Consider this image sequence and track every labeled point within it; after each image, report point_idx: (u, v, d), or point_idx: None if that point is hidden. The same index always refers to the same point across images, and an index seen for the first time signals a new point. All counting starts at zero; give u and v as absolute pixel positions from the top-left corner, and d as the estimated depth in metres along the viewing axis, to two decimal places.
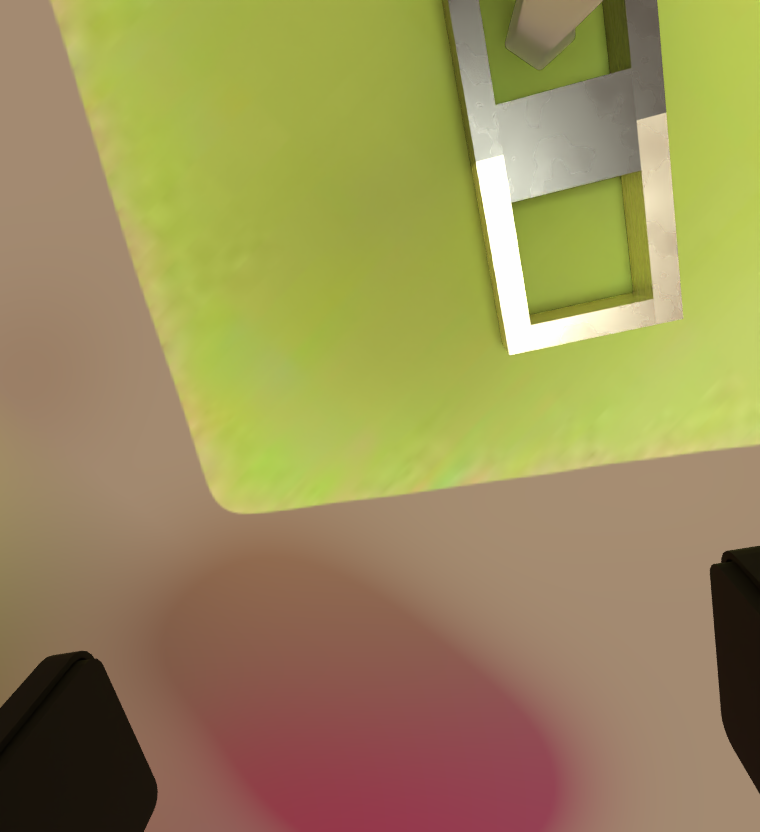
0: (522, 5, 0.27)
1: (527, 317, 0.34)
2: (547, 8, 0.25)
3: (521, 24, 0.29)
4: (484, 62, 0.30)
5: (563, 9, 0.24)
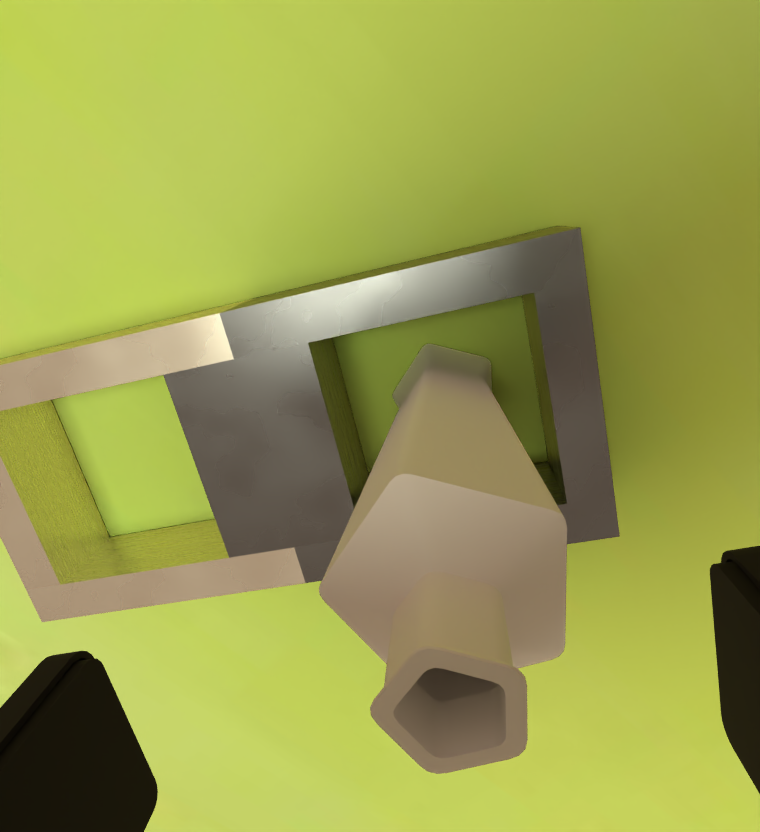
0: (427, 390, 0.16)
1: None
2: (389, 447, 0.14)
3: (421, 380, 0.18)
4: (371, 321, 0.18)
5: (369, 484, 0.13)
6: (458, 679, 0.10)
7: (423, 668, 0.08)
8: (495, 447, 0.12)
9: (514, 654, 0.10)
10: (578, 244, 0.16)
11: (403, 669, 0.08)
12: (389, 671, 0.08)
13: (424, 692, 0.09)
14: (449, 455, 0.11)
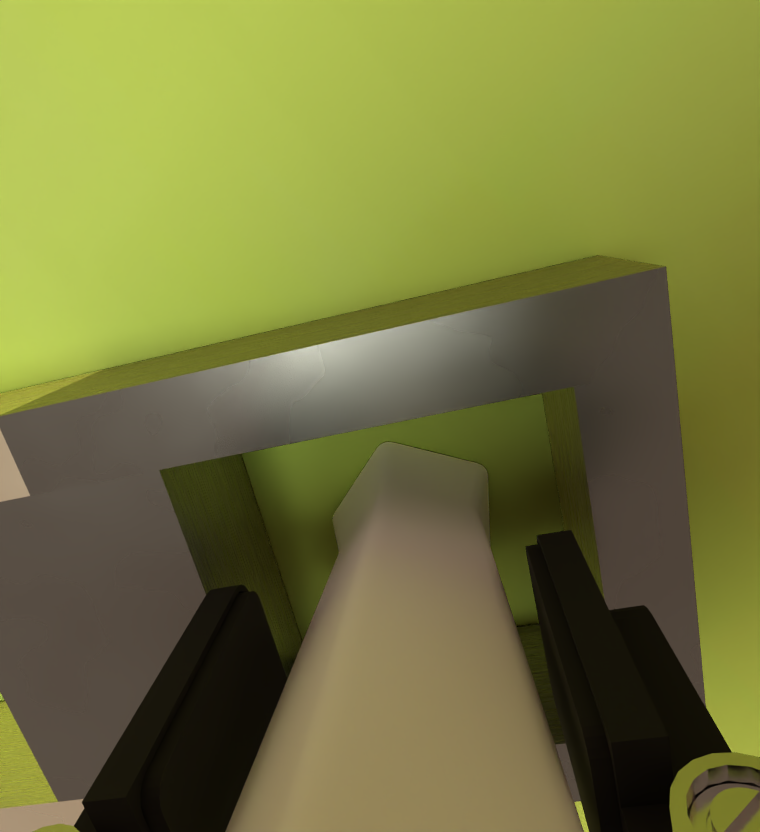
0: (365, 599, 0.08)
1: None
2: (260, 799, 0.06)
3: (364, 541, 0.10)
4: (271, 435, 0.10)
5: None
6: None
7: None
8: None
9: None
10: (661, 298, 0.08)
11: None
12: None
13: None
14: None
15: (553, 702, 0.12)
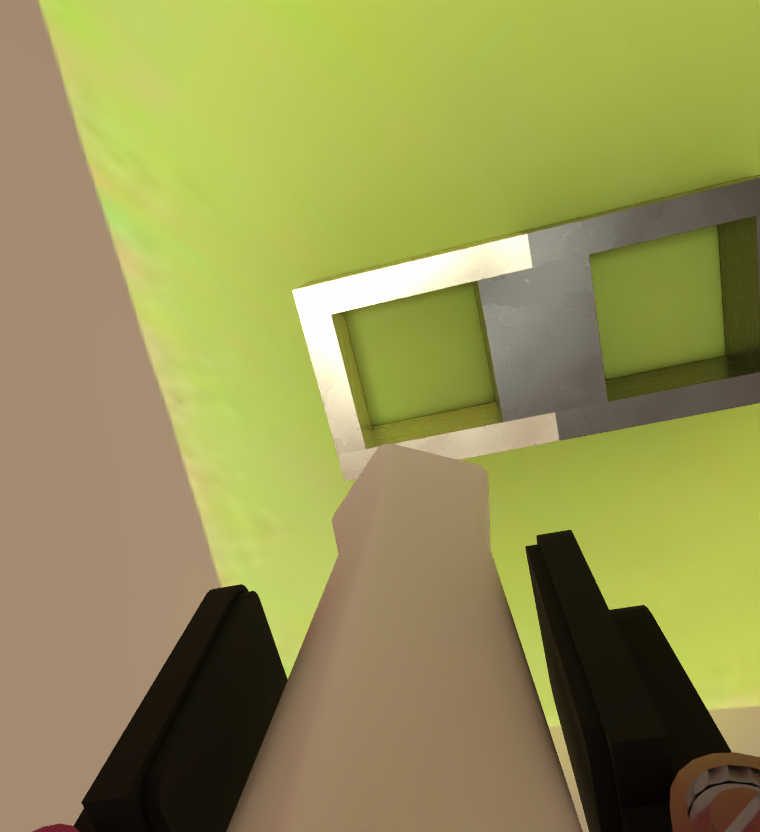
0: (365, 602, 0.08)
1: (340, 309, 0.27)
2: (259, 804, 0.06)
3: (364, 543, 0.10)
4: (637, 238, 0.25)
5: None
6: None
7: None
8: None
9: None
10: None
11: None
12: None
13: None
14: None
15: (726, 371, 0.28)
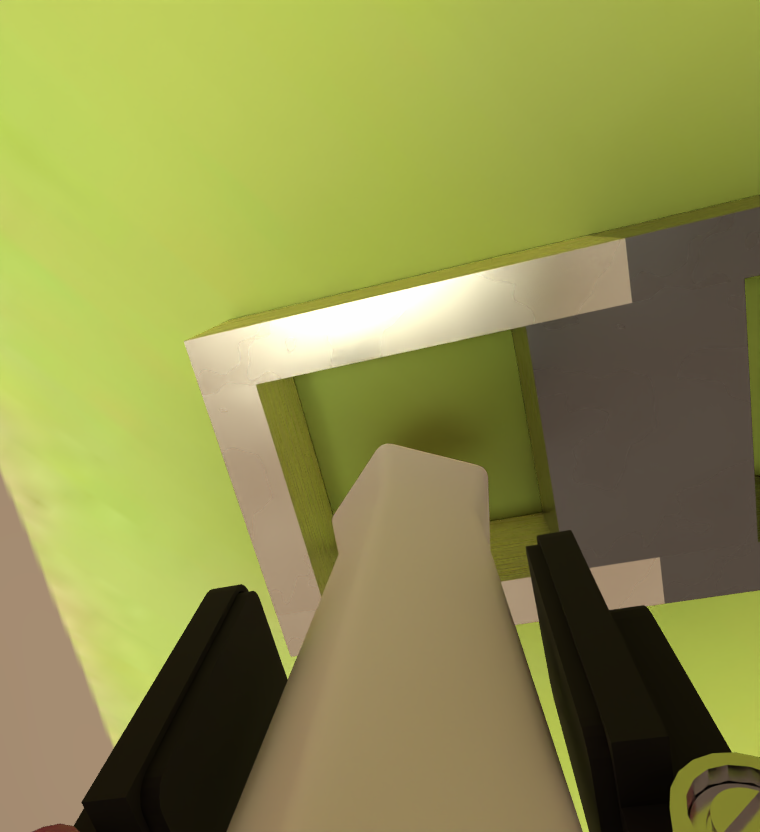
0: (365, 602, 0.08)
1: (272, 376, 0.15)
2: (259, 804, 0.06)
3: (364, 543, 0.10)
4: None
5: None
6: None
7: None
8: None
9: None
10: None
11: None
12: None
13: None
14: None
15: None
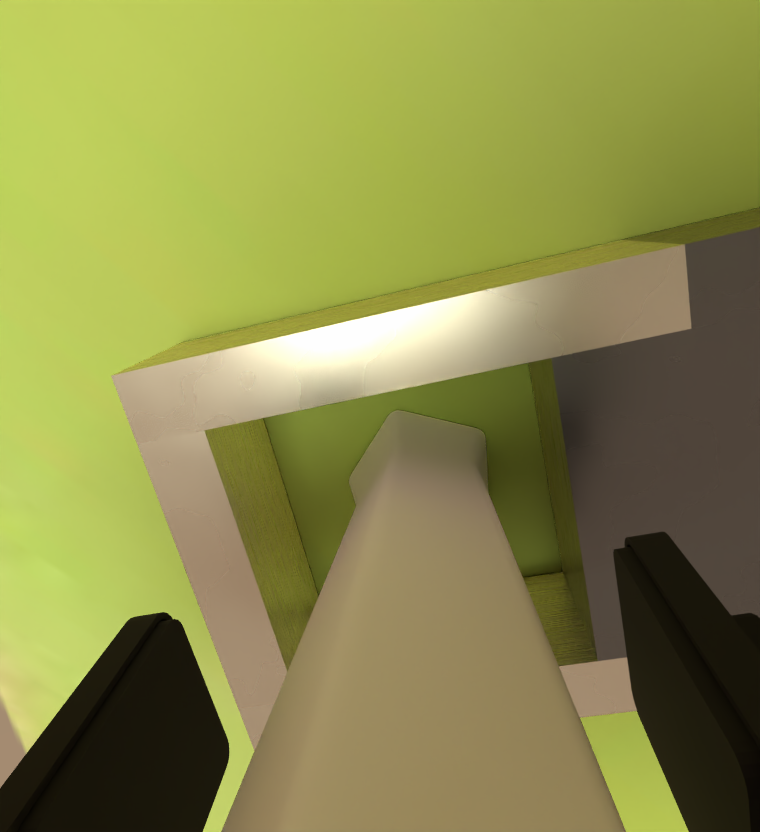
0: (385, 518, 0.10)
1: (225, 420, 0.12)
2: (311, 651, 0.08)
3: (381, 483, 0.12)
4: None
5: (265, 746, 0.07)
6: None
7: None
8: (510, 706, 0.06)
9: None
10: None
11: None
12: None
13: None
14: (409, 787, 0.05)
15: None
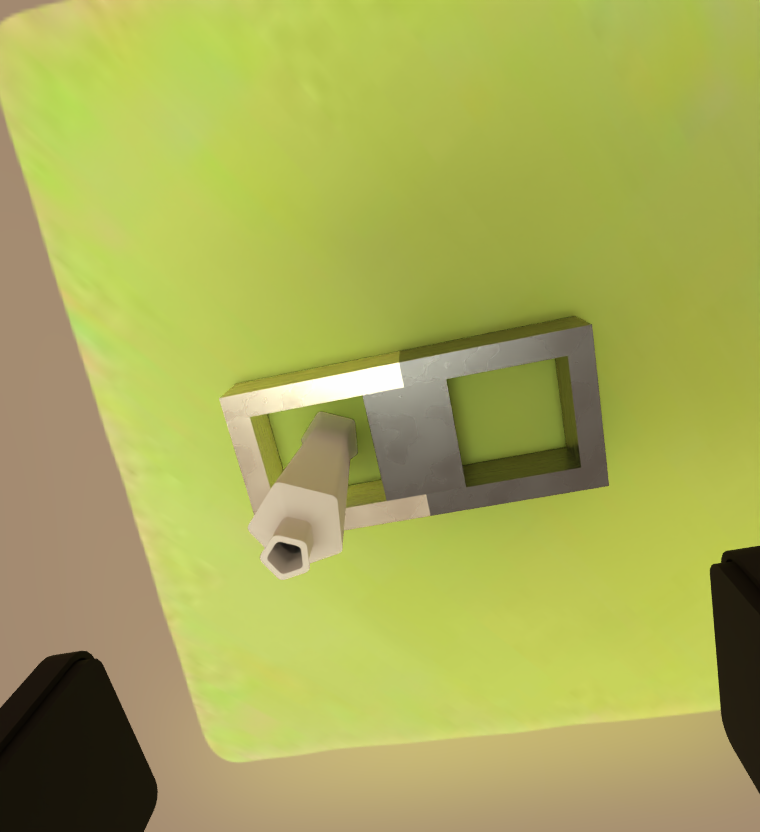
0: (307, 442, 0.33)
1: (257, 413, 0.35)
2: None
3: (308, 435, 0.35)
4: (481, 368, 0.33)
5: None
6: (296, 556, 0.26)
7: (275, 543, 0.25)
8: (324, 471, 0.29)
9: (320, 549, 0.27)
10: (590, 332, 0.33)
11: (269, 542, 0.24)
12: None
13: (281, 557, 0.26)
14: (300, 475, 0.28)
15: (558, 464, 0.36)
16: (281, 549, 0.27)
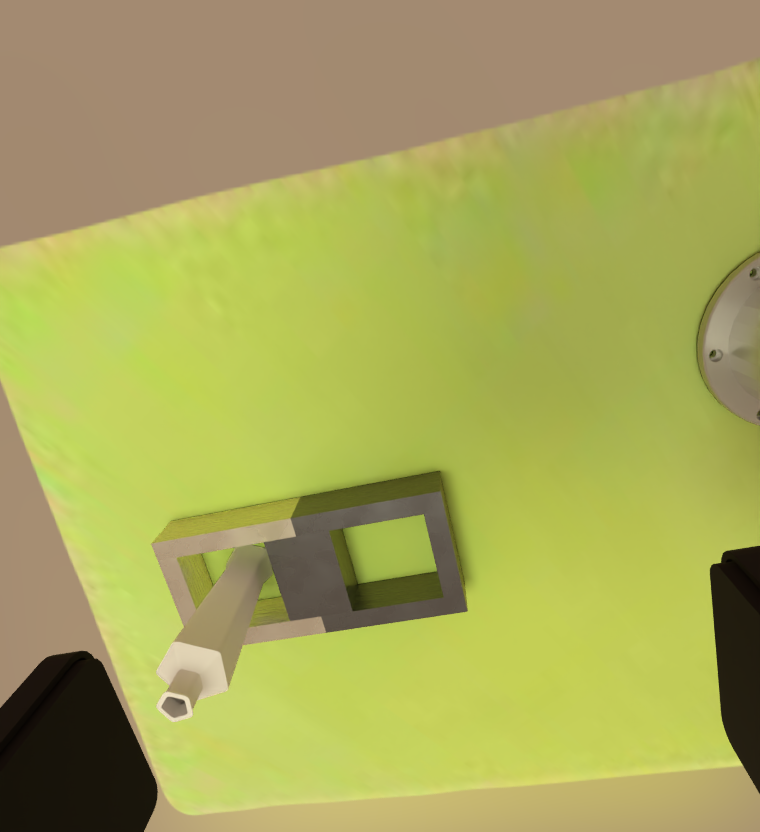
0: (216, 585, 0.41)
1: (181, 555, 0.44)
2: None
3: (223, 573, 0.43)
4: (356, 523, 0.42)
5: None
6: None
7: (166, 696, 0.33)
8: (219, 621, 0.38)
9: (209, 690, 0.35)
10: (440, 497, 0.40)
11: (161, 696, 0.33)
12: None
13: (176, 702, 0.34)
14: (197, 629, 0.37)
15: (428, 591, 0.44)
16: None
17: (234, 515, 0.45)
